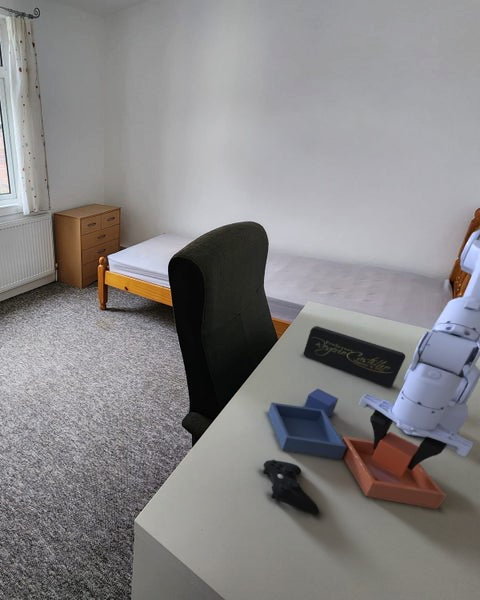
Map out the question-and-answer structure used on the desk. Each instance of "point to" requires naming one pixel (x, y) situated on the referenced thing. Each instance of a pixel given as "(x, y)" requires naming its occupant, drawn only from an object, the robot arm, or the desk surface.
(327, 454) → the blue bin
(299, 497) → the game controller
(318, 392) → the blue block
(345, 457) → the bin
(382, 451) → the terracotta block
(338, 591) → the desk surface
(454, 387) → the robot arm
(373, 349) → the nameplate
